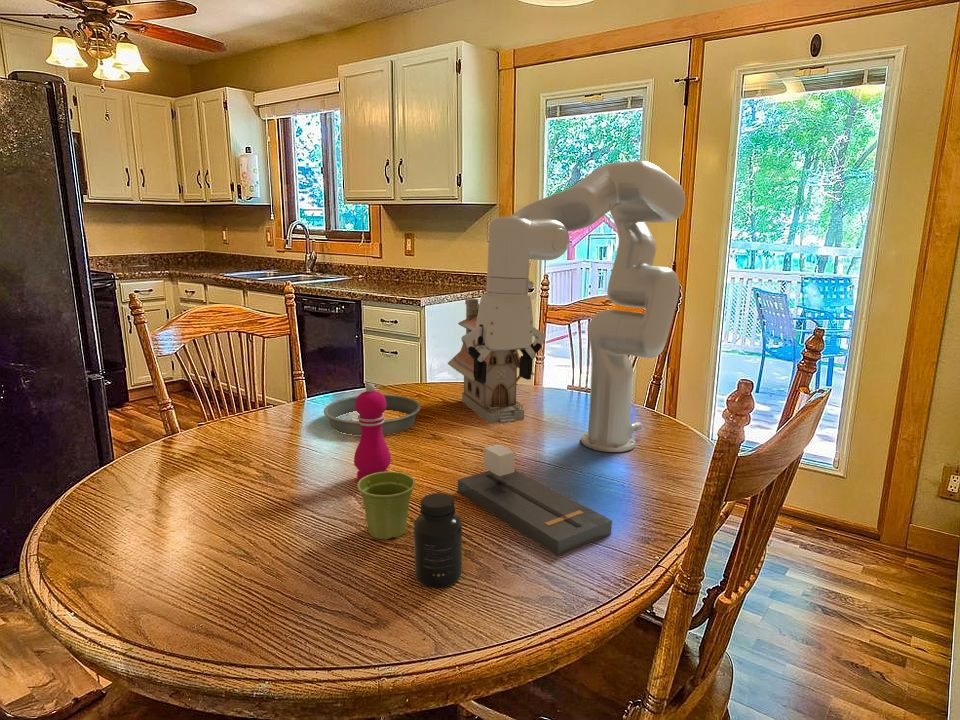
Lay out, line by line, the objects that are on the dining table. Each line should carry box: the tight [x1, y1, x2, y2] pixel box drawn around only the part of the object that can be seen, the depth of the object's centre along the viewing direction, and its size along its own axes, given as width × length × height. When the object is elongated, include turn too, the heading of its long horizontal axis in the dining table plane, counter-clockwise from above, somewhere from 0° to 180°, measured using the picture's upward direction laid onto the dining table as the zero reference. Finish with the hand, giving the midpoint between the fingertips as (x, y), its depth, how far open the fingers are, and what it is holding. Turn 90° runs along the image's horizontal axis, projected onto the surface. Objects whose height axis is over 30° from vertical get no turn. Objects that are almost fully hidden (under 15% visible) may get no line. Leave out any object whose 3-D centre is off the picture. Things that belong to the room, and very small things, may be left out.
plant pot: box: [356, 470, 416, 540], centre depth 99 cm, size 9×9×9 cm
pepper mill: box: [353, 382, 392, 483], centre depth 117 cm, size 7×7×20 cm
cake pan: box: [323, 394, 422, 436], centre depth 154 cm, size 25×25×4 cm
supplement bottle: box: [413, 492, 463, 589], centre depth 86 cm, size 7×7×12 cm
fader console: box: [457, 469, 613, 557], centre depth 107 cm, size 28×12×3 cm, turn 36°
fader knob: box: [483, 443, 516, 480], centre depth 113 cm, size 5×4×6 cm
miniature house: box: [447, 297, 535, 425], centre depth 163 cm, size 18×24×30 cm
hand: (502, 379), depth 111 cm, fingers open, 9 cm apart
